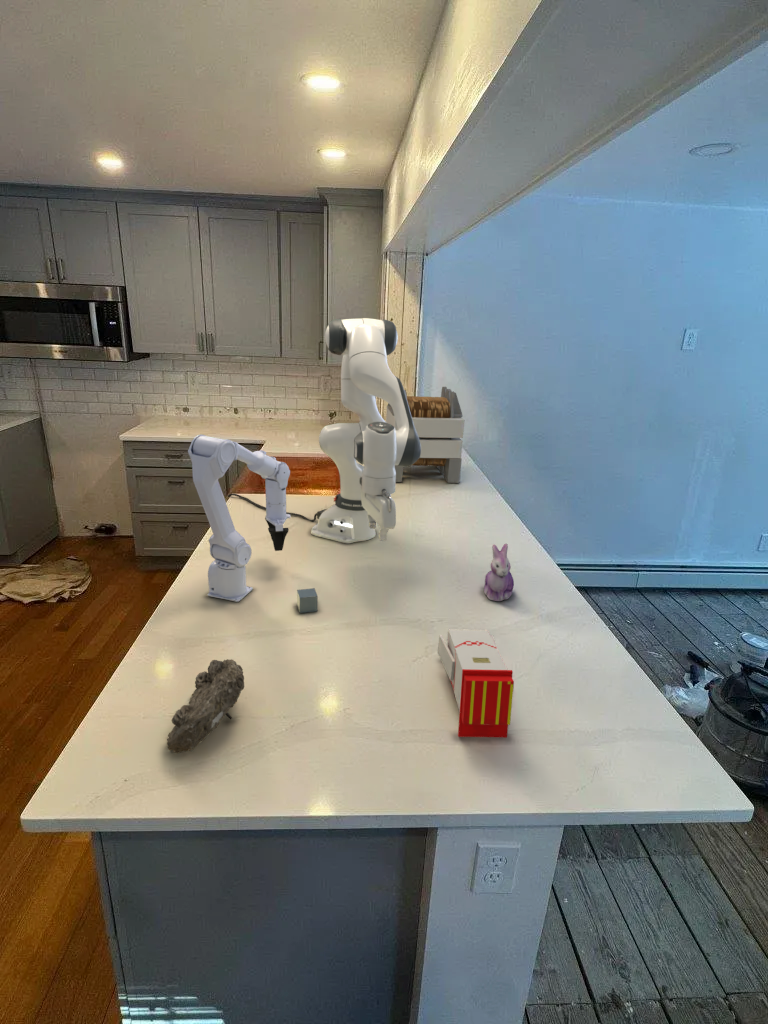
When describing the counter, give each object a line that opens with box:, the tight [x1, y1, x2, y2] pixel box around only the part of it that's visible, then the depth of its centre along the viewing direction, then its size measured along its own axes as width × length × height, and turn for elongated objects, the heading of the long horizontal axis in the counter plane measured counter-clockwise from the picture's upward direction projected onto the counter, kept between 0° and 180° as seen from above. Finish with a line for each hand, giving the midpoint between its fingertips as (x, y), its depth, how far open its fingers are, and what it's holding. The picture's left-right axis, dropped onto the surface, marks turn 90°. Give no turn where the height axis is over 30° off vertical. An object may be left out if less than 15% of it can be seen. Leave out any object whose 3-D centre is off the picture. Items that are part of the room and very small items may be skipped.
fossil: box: [166, 658, 245, 754], centre depth 106 cm, size 22×10×15 cm
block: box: [296, 587, 319, 614], centre depth 148 cm, size 4×5×4 cm
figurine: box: [483, 543, 515, 602], centre depth 157 cm, size 9×10×15 cm
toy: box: [437, 628, 515, 738], centre depth 117 cm, size 12×13×30 cm
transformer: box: [385, 386, 465, 484], centre depth 268 cm, size 34×33×41 cm
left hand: (277, 545), depth 167 cm, fingers open, 7 cm apart
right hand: (377, 533), depth 155 cm, fingers open, 8 cm apart
